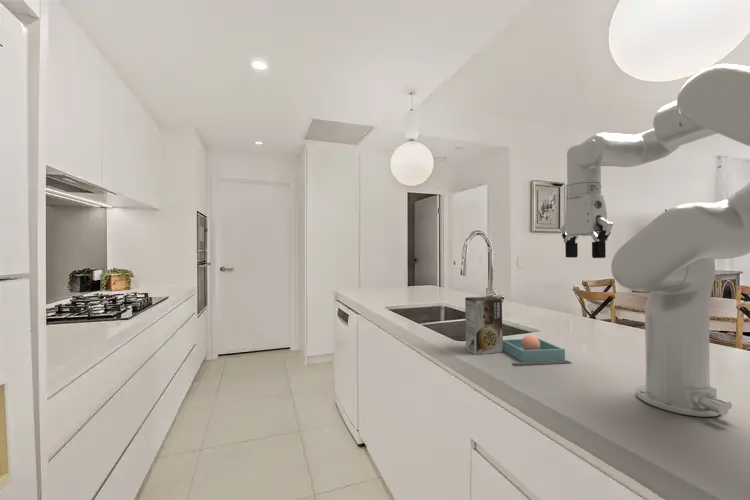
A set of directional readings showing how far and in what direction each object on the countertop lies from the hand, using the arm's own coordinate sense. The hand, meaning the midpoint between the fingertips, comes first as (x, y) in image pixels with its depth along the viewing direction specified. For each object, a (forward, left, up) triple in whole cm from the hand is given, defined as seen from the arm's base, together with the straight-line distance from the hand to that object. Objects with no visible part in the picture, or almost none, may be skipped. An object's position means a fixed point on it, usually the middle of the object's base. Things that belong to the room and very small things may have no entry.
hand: (584, 257), depth 89 cm
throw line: (+4, +10, -28) cm, 30 cm away
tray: (+12, +8, -28) cm, 32 cm away
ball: (+12, +8, -25) cm, 29 cm away
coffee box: (+17, +20, -28) cm, 39 cm away
